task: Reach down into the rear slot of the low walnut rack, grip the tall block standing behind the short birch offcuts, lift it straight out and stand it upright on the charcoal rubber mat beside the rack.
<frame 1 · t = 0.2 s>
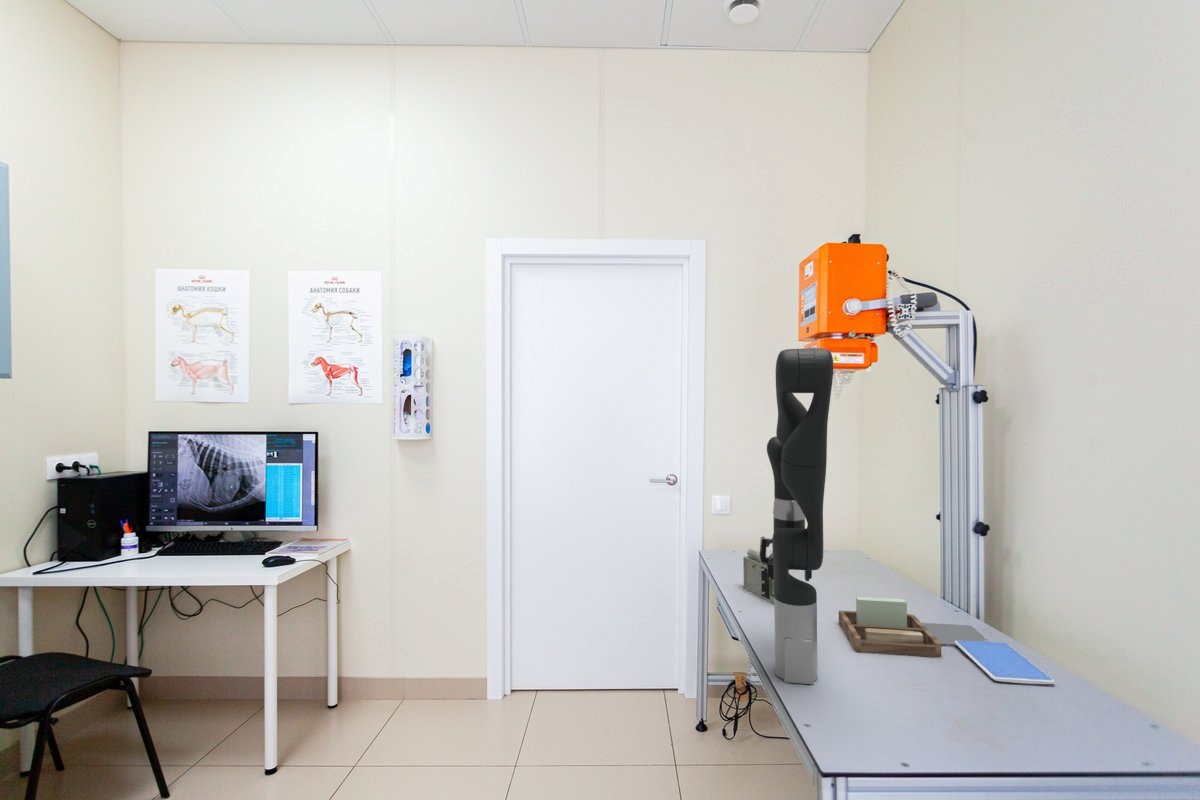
hand: (789, 579, 144), 18 cm above the table, tool pointing down, fingers open, 8 cm apart
geiger counter: (772, 600, 179), on the table
tall block: (881, 633, 153), resting in storage rack
tablet computer: (1000, 664, 134), on the table, touching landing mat
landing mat: (953, 635, 151), on the table
offcut stack: (892, 647, 144), resting in storage rack
storage rack: (886, 639, 149), on the table
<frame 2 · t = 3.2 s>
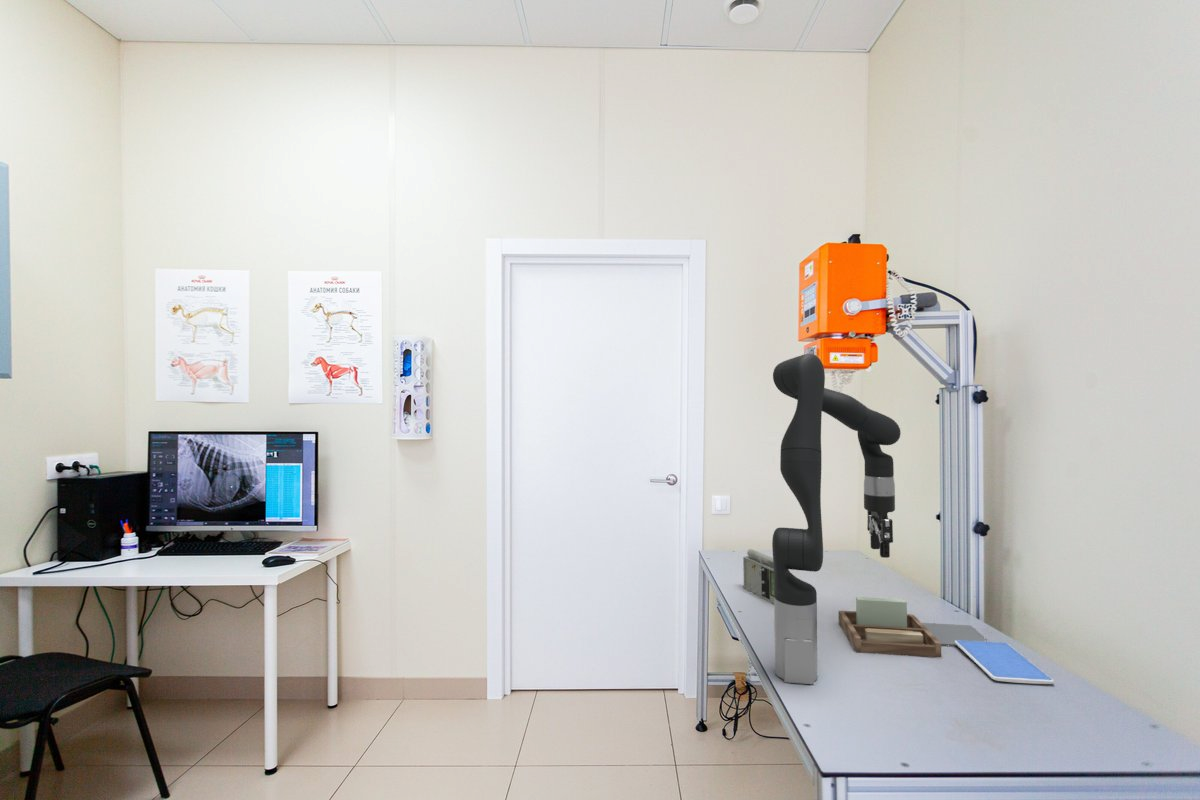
hand: (879, 552, 153), 21 cm above the table, tool pointing down, fingers open, 8 cm apart
nothing on the table moved.
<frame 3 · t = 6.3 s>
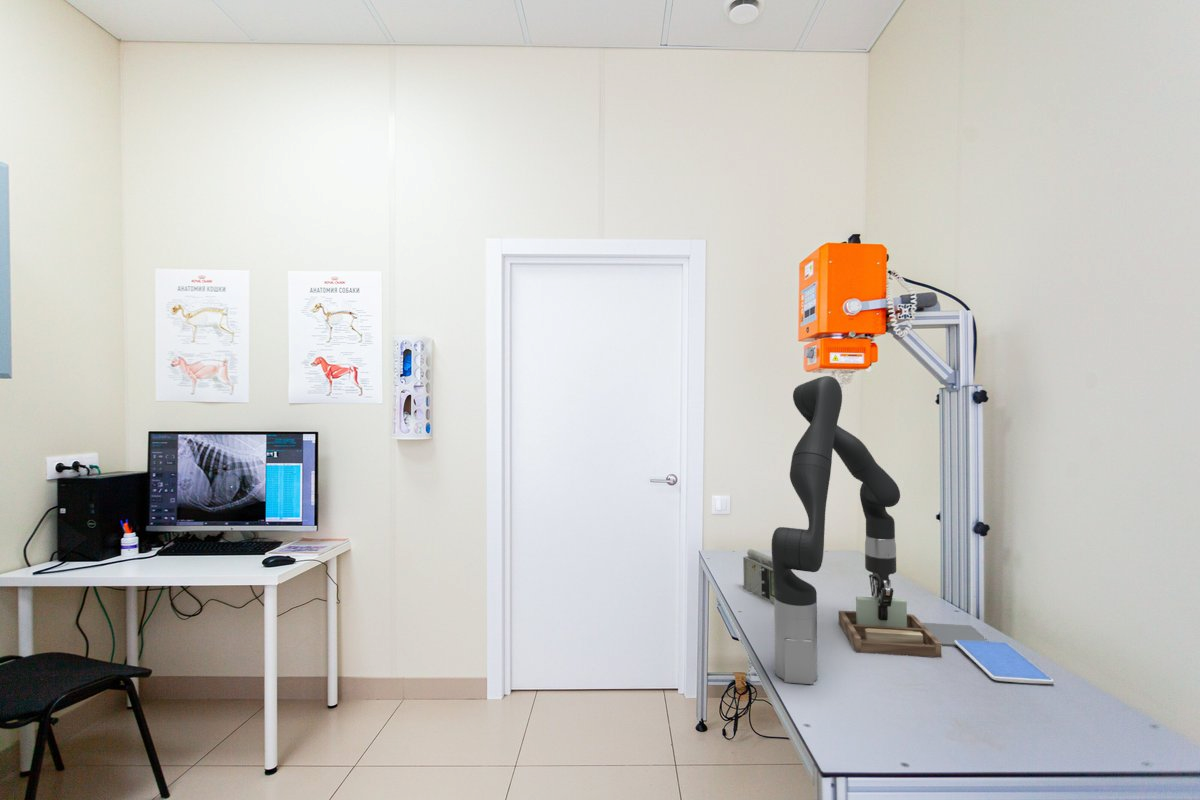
hand: (881, 617, 153), 4 cm above the table, tool pointing down, fingers closed on tall block, 2 cm apart
tall block: (881, 632, 153), resting in storage rack, touching gripper
everything else where it was.
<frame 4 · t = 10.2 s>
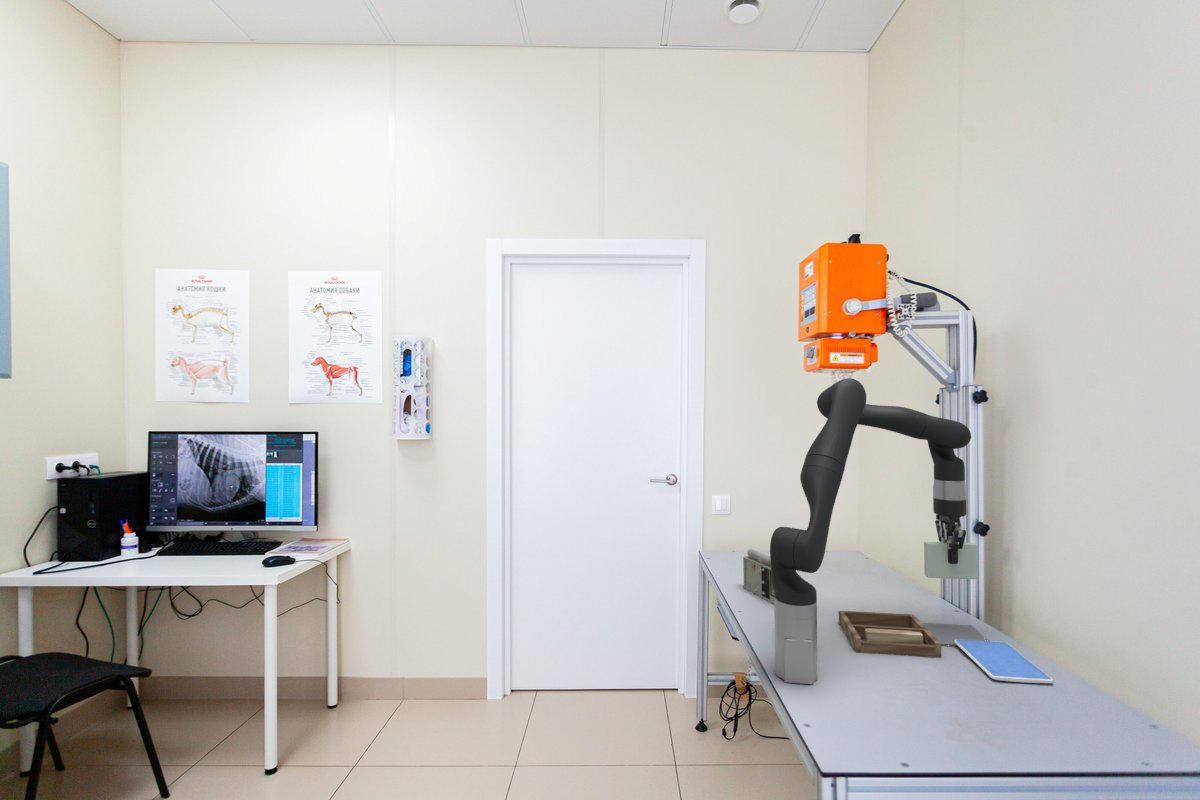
hand: (950, 561, 151), 19 cm above the table, tool pointing down, fingers closed on tall block, 2 cm apart
tall block: (950, 577, 151), point 15 cm above the table, touching gripper
everything else where it was.
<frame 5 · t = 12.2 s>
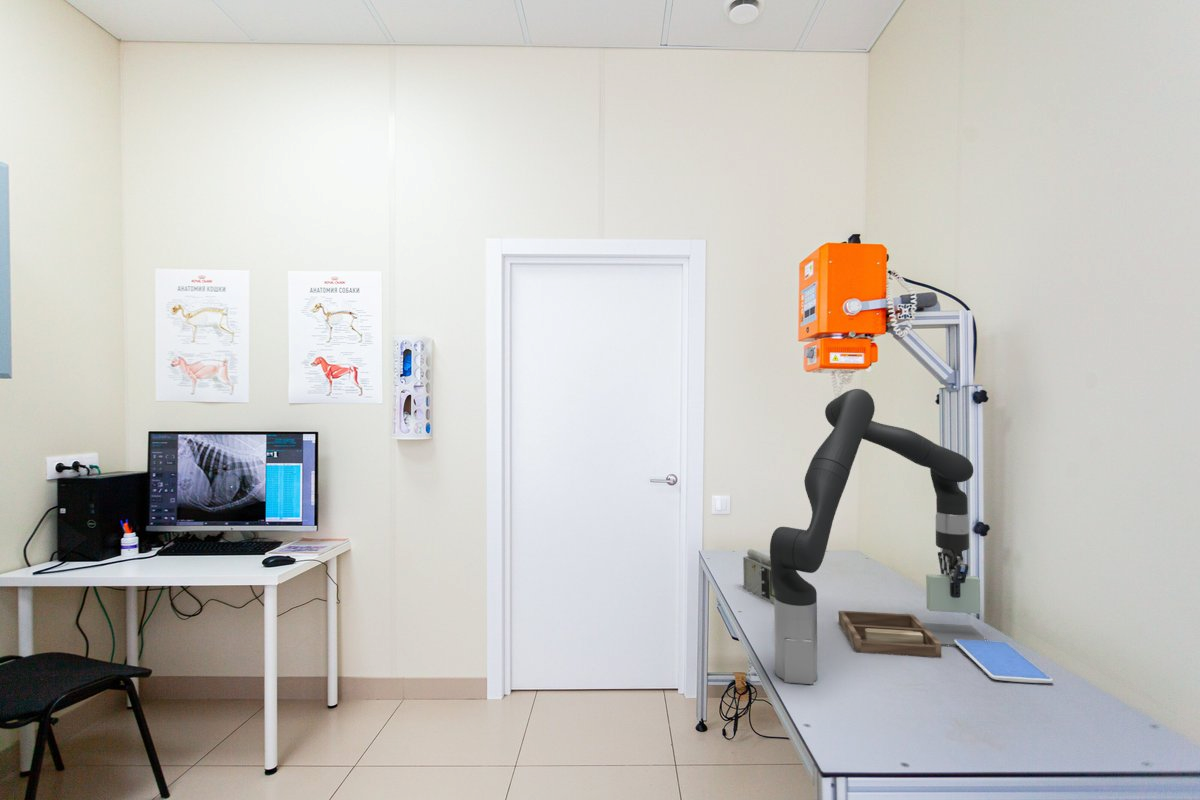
hand: (952, 594, 151), 11 cm above the table, tool pointing down, fingers closed on tall block, 2 cm apart
tall block: (953, 610, 151), point 7 cm above the table, touching gripper
everything else where it was.
when the fingers open (5 cm above the table, at t = 14.1 s): tall block drops 2 cm, resting on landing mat.
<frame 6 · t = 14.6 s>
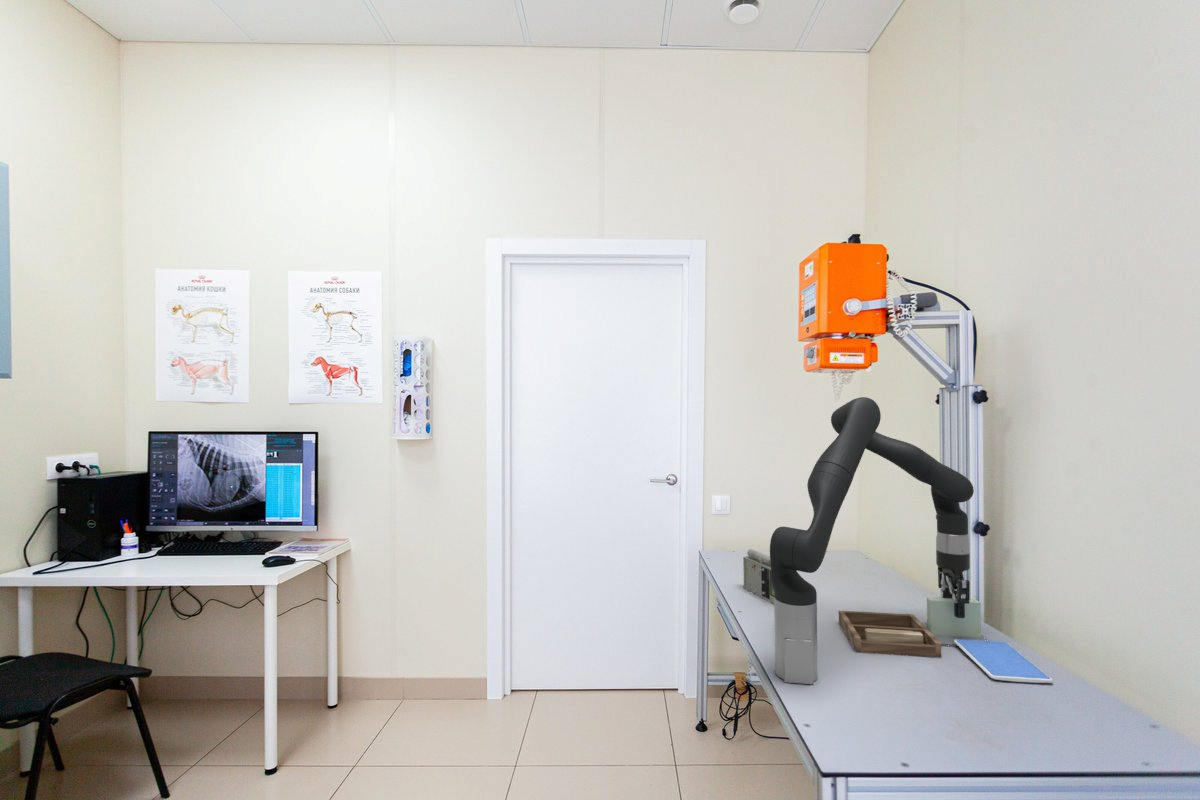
hand: (953, 612, 151), 6 cm above the table, tool pointing down, fingers open, 7 cm apart
tall block: (953, 634, 151), resting on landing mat
everything else where it was.
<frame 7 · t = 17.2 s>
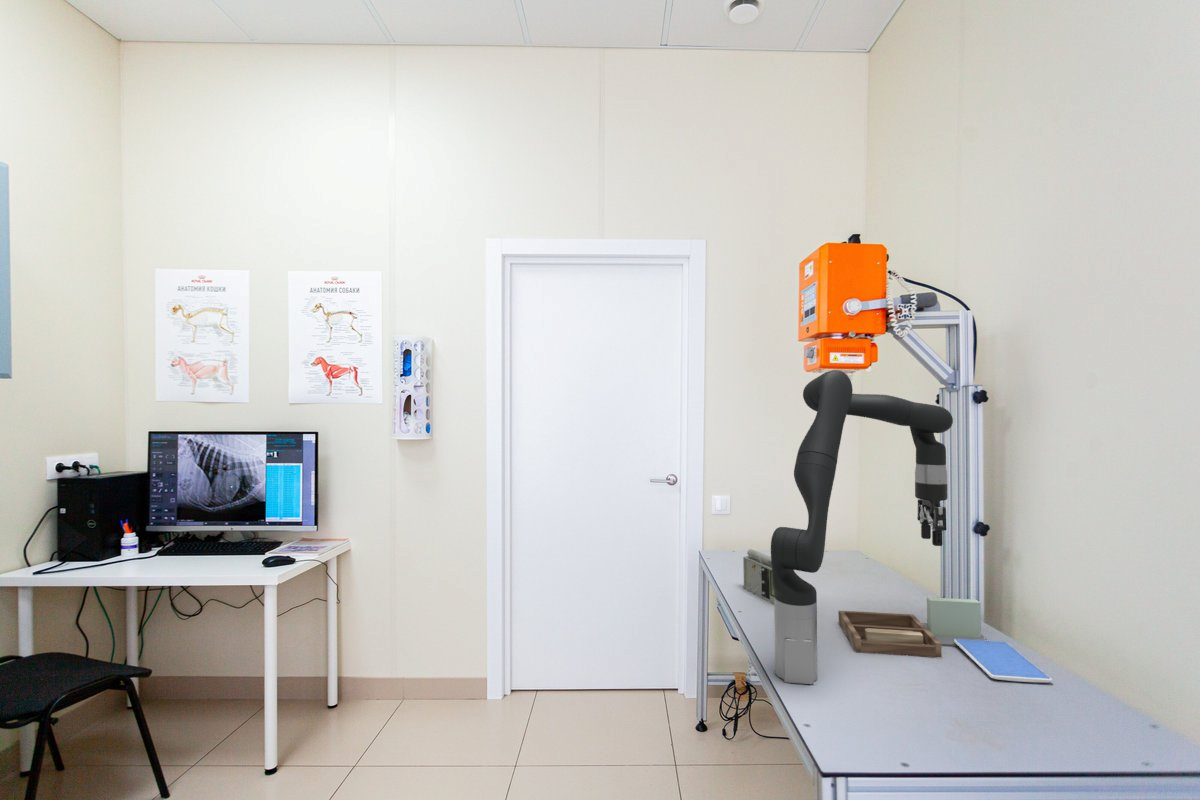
hand: (931, 542, 152), 24 cm above the table, tool pointing down, fingers open, 8 cm apart
nothing on the table moved.
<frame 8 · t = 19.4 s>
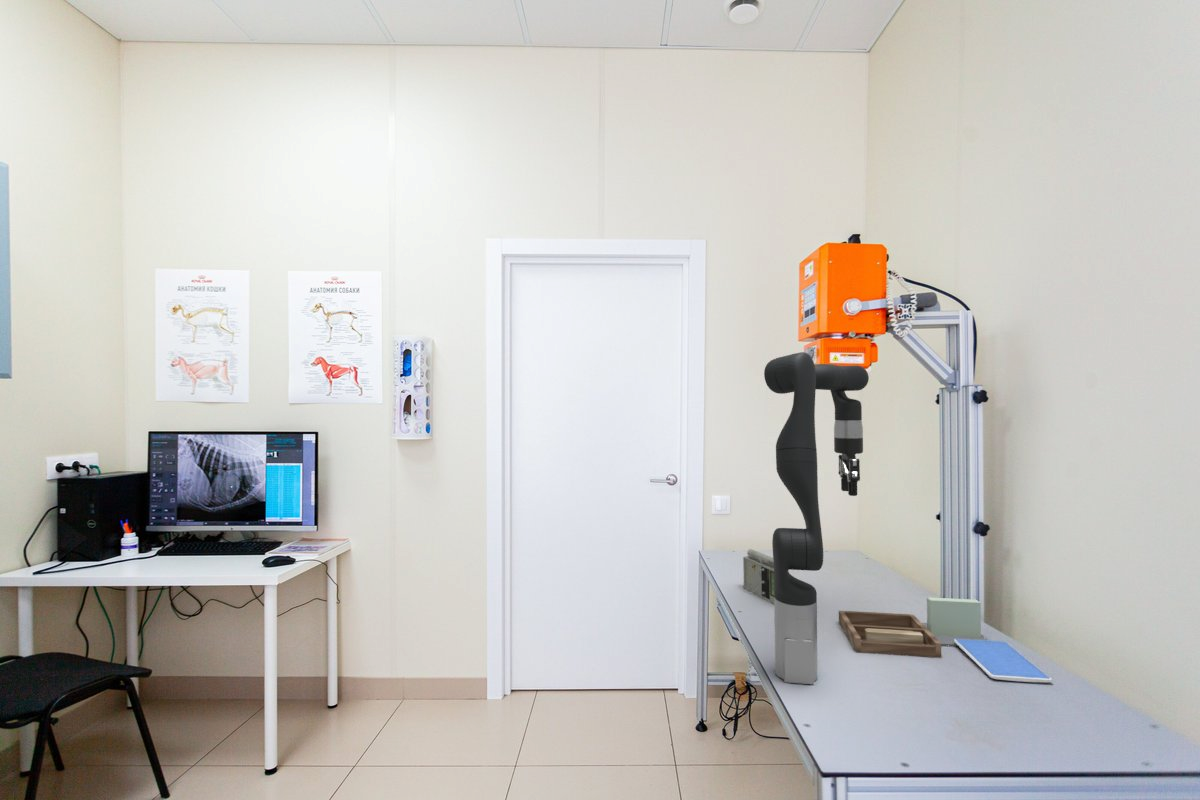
hand: (849, 493, 162), 36 cm above the table, tool pointing down, fingers open, 8 cm apart
nothing on the table moved.
at the end: tall block inside the target area on the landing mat (0.1 cm from its centre), point 0.5 cm above the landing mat's base; tall block tilted 0°; the gripper is holding nothing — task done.
